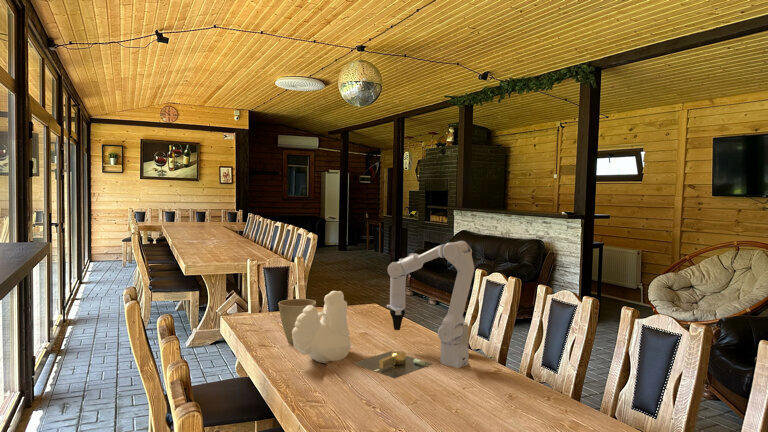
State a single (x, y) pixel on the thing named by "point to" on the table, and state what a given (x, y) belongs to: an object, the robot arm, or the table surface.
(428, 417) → the table surface
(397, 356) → the brass door handle
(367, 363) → the base plate
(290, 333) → the plant pot
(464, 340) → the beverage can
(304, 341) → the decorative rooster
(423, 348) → the table surface
